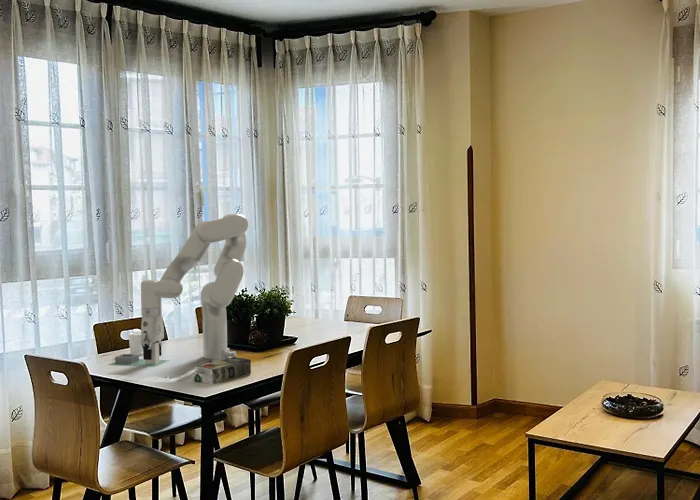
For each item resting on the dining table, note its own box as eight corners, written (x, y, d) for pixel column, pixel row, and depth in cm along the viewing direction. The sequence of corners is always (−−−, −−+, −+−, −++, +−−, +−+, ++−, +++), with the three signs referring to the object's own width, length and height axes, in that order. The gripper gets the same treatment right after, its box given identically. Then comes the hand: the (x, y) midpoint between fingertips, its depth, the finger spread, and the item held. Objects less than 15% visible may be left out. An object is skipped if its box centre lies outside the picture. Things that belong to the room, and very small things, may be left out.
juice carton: (210, 385, 242) (210, 368, 241) (191, 382, 248) (191, 365, 247) (252, 375, 258) (251, 358, 258) (233, 372, 264) (232, 356, 263)
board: (169, 364, 277) (169, 354, 276) (154, 370, 265) (154, 360, 265) (124, 362, 281) (123, 352, 281) (107, 368, 270) (107, 358, 269)
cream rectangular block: (159, 362, 273) (158, 342, 272) (155, 364, 270) (155, 343, 269) (149, 362, 274) (148, 341, 273) (145, 363, 271) (145, 343, 270)
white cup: (143, 359, 286) (142, 335, 286) (125, 358, 288) (125, 334, 287) (152, 355, 294) (151, 332, 293) (135, 355, 295) (134, 331, 295)
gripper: (148, 315, 261) (150, 362, 262) (171, 309, 278) (172, 353, 279) (130, 314, 263) (132, 361, 264) (153, 308, 280) (154, 352, 281)
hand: (152, 357), depth 272 cm, fingers open, 6 cm apart
